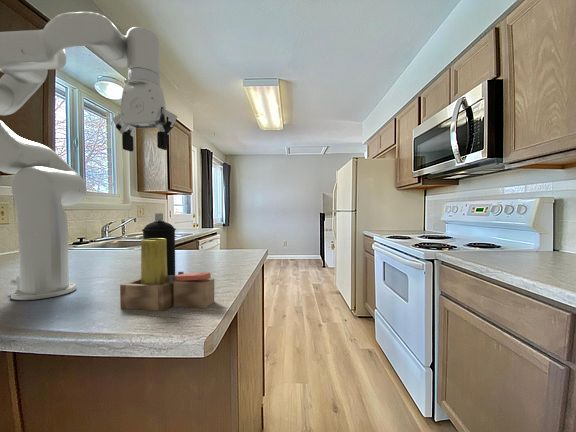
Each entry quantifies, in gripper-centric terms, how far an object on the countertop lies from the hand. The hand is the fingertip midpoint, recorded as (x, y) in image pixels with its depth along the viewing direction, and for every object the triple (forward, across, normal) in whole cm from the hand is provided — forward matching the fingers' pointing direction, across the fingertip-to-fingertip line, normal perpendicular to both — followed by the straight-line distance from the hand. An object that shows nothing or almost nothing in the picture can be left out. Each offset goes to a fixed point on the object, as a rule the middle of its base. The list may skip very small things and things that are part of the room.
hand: (145, 149), depth 74 cm
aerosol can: (+36, +2, +2) cm, 37 cm away
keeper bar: (+31, +17, -8) cm, 36 cm away
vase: (+36, +8, -8) cm, 38 cm away
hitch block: (+36, +12, -8) cm, 39 cm away
